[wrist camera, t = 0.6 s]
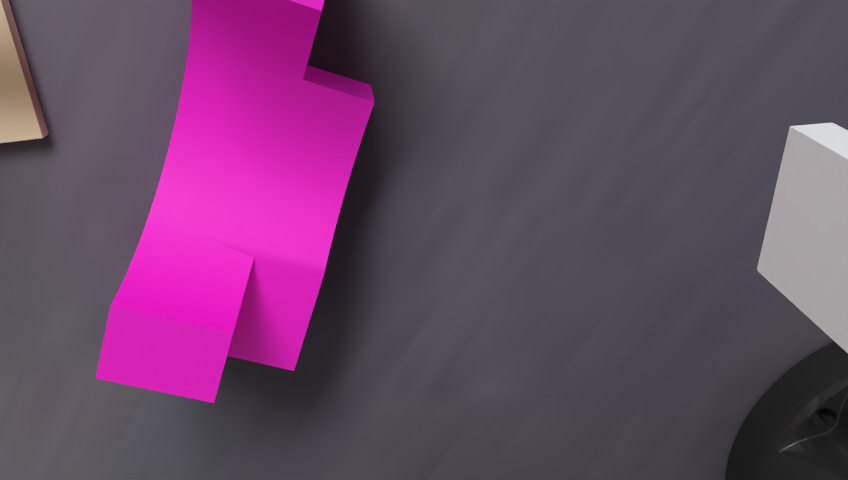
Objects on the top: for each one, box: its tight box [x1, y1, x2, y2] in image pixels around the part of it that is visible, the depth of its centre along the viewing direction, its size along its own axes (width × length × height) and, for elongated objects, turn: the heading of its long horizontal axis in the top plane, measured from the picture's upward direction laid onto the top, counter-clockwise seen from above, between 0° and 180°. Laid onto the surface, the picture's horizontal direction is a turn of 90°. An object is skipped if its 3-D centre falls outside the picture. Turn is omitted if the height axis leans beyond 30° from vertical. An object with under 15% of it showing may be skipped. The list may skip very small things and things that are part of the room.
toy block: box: [96, 0, 375, 403], centre depth 25 cm, size 15×6×8 cm, turn 162°
